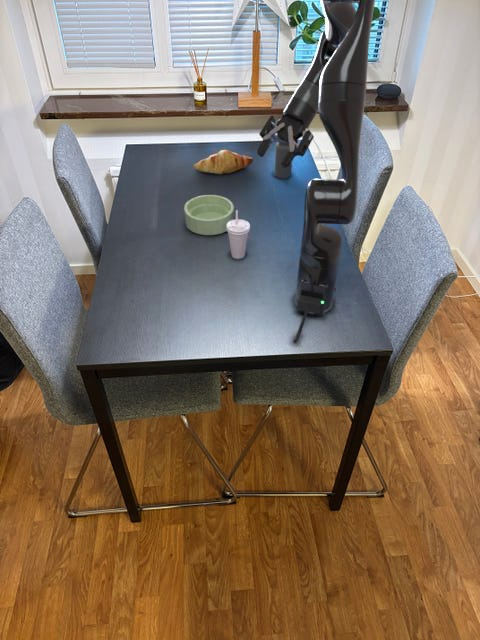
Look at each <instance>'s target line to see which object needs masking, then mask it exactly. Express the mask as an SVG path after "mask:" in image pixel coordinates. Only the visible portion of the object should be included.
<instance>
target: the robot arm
mask: <svg viewBox="0 0 480 640" xmlns="http://www.w3.org/2000/svg"><path fill="white" fill-rule="evenodd" d="M375 1H376V0H320V4H321V7H322V11H323V14H324V17H325V29H324V30H323V31H322V33H321V35H320V38H319V41H318V45H317V49H316V52H315V55H314V58H313V60H312V63H311V66H310V67H309V69H308V70H307V72H306V75H305V76H304V78H303V79H302V81H301V83H300V84H299V85H298V87H297V88H296V90H295V91H294V93H293V94H292V96H291V97H290V100H289V101H288V102H287V104H286V106H285V108H284V109H283V112H282V116H281V118H280V119H278V118H276V117H275V116H274V115H270V116H269V117H268V120H267V121H266V122H265V124H264V126H263V127H262V129H261V130H260V132H259V136H260V138H261V139H262V141H261V143H260V144H259V146H258V148H257V151H256V154H257V155H258V156H259V157H260V158H264V156H265V154H266V153H267V151H268V149H269V147H270V146H271V144H272V143H274V142H278V140H280V139H281V140H282V141H286V142H287V143H289V145H290V152H287V154H286V156H285V157H284V159H283V161H282V162H281V166H282V167H283V168H287V167H289V166H290V164H291V162H292V163H293V161H294V159H295V158H296V157H297V156H299V157H304V156H305V154H306V153H307V151H308V149H309V147H310V145H311V143H312V141H313V139H314V137H315V136H314V134H313V133H312V131H310V129H309V127H310V125H311V124H312V122H313V121H314V119H315V118H316V115H317V114H318V115H319V118H320V122H321V124H322V126H323V128H324V130H325V132H326V134H327V135H328V138H329V139H330V142H331V143H332V145H333V147H334V149H335V152H336V154H337V157H338V159H339V163H340V167H341V179H334V178H333V179H332V178H331V179H329V178H312V179H310V180H309V182H308V183H307V185H306V187H305V192H304V193H305V194H304V208H303V224H302V225H303V226H302V235H301V243H300V253H299V261H298V270H297V280H296V281H297V282H296V289H295V296H294V304H295V307H296V310H297V312H298V313H302V314H303V315H302V319H301V321H300V324H299V327H298V330H297V332H296V335H295V337H294V338H293V343H295V344H296V343H297V342H298V340H299V338H300V336H301V333H302V330H303V328H304V325H305V322H306V320H307V317H308V315H310V316H316V317H321V318H322V317H323V316H324V314H327V313H328V312H330V311H331V310H332V308H333V303H334V296H335V293H336V292H337V288H336V284H337V278H338V273H339V266H340V262H341V256H342V250H343V243H344V239H343V235H342V233H341V232H340V231H339V230H338V229H336V228H334V227H332V226H330V225H350V224H351V223H353V221H354V219H355V217H356V213H357V207H358V195H359V194H358V193H359V166H360V146H361V136H362V128H363V122H364V121H363V120H364V111H365V102H366V92H367V81H368V63H369V48H370V38H371V32H372V31H371V30H372V22H373V16H374V10H375V3H376V2H375ZM354 4H357V9H356V7H355V6H354ZM326 58H329V60H328V62H326ZM306 129H307V130H306ZM301 138H302V139H301ZM299 139H301V140H300V142H299Z"/></svg>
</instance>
